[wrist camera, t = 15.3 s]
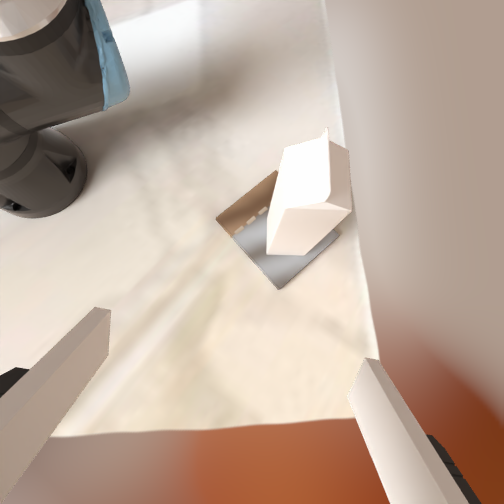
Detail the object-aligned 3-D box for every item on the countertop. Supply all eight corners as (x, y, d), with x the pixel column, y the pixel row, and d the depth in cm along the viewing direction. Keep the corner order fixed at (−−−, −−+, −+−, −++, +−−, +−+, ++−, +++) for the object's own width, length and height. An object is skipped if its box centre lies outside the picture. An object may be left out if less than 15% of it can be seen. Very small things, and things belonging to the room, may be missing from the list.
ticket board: (216, 220, 44) (215, 217, 42) (275, 173, 46) (275, 169, 45) (278, 290, 41) (279, 289, 40) (336, 237, 44) (339, 235, 42)
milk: (303, 219, 43) (366, 125, 21) (304, 256, 42) (372, 195, 20) (265, 218, 43) (290, 121, 21) (265, 255, 41) (291, 192, 20)
